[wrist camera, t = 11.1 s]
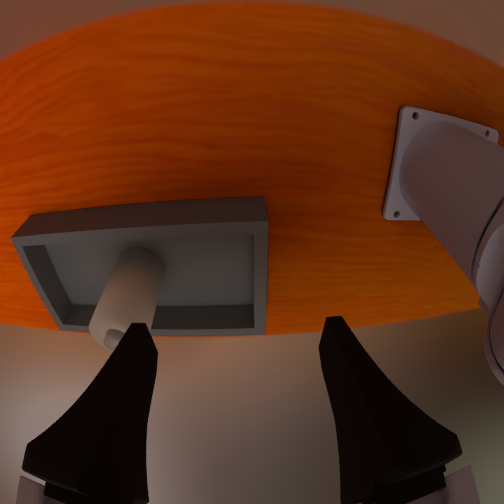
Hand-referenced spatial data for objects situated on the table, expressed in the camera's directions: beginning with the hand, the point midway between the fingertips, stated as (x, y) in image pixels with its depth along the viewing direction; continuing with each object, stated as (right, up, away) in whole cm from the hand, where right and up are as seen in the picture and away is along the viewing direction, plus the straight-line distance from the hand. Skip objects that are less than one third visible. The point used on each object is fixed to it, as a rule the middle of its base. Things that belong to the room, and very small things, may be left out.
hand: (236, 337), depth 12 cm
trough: (-7, +3, +9) cm, 12 cm away
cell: (-7, +2, +9) cm, 12 cm away
